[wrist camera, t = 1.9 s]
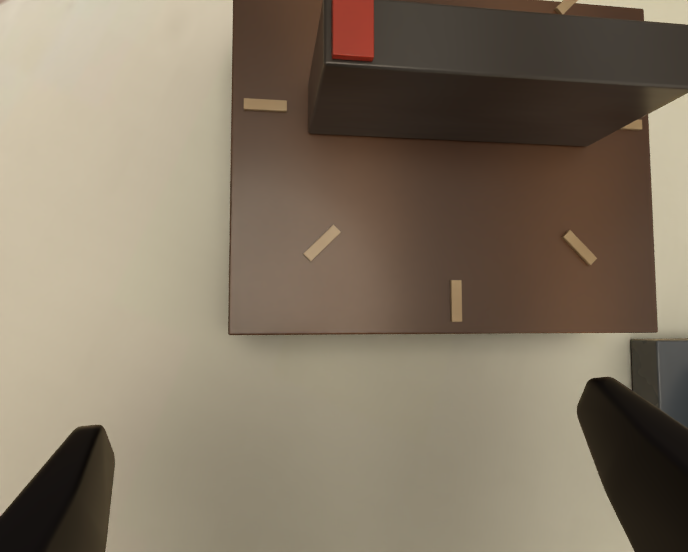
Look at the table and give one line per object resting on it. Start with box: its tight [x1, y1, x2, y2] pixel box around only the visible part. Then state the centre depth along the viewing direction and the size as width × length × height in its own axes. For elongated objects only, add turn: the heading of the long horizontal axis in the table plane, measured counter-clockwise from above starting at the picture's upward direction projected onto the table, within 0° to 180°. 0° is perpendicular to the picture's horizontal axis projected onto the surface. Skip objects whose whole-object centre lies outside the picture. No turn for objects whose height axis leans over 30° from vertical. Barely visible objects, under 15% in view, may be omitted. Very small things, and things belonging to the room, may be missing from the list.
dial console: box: [228, 0, 658, 335], centre depth 21 cm, size 15×15×5 cm
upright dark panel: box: [308, 0, 688, 146], centre depth 16 cm, size 10×2×5 cm, turn 90°
